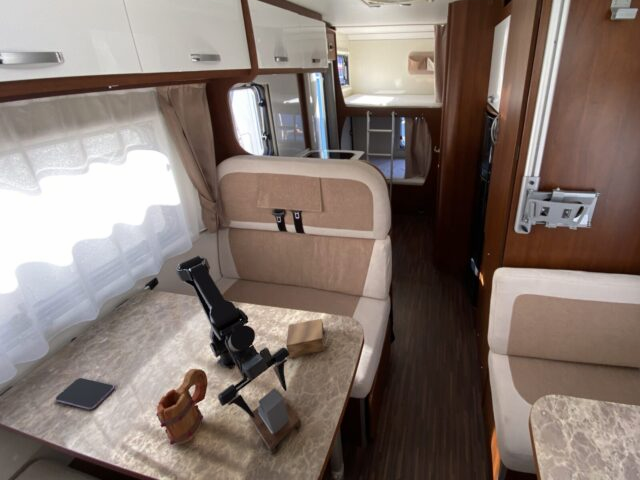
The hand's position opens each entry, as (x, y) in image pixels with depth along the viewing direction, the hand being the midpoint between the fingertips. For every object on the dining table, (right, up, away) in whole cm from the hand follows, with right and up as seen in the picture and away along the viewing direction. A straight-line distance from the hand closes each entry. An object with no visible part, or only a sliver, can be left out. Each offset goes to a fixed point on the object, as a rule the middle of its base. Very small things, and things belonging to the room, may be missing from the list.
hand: (270, 403), depth 81 cm
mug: (-24, -9, +6) cm, 26 cm away
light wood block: (+3, +2, +28) cm, 28 cm away
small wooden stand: (0, -8, +4) cm, 9 cm away
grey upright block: (0, -6, +3) cm, 6 cm away
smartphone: (-64, -8, +15) cm, 66 cm away
